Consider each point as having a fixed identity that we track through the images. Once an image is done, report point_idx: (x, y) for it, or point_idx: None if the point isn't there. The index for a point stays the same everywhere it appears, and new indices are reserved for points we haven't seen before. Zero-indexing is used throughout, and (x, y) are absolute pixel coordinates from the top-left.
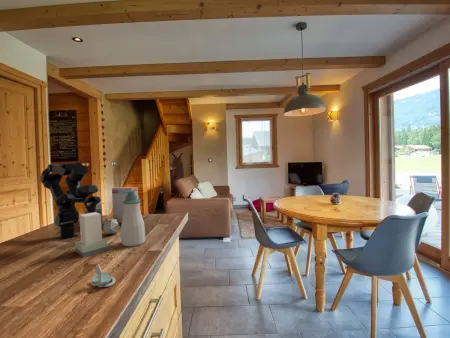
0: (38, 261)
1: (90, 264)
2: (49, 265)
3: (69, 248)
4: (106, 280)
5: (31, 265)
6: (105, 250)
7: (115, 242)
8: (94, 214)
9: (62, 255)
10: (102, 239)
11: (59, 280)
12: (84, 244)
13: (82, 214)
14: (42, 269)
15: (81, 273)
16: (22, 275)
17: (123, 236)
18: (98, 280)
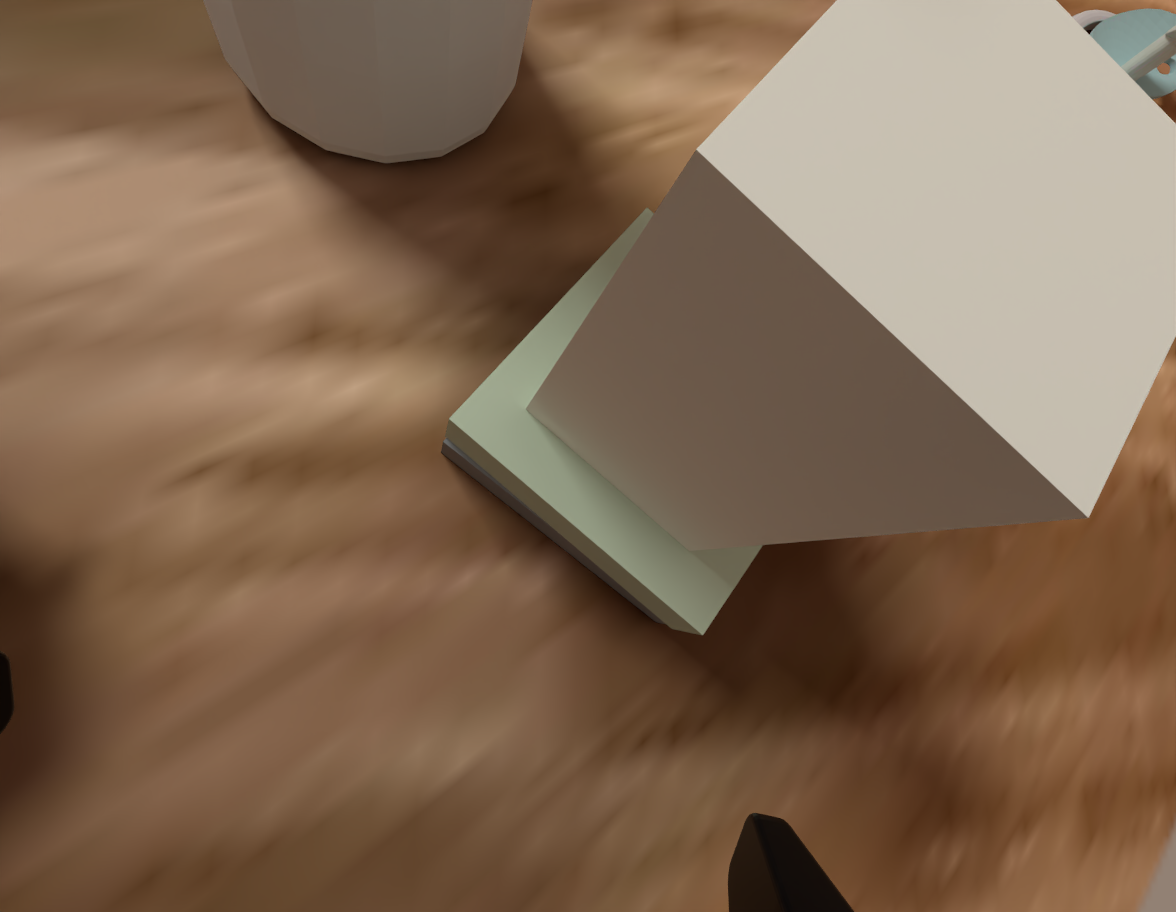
0: (916, 839)
1: None
2: (970, 627)
3: (547, 805)
4: (1115, 44)
5: (993, 817)
6: None
7: (328, 281)
8: (1007, 38)
9: (764, 698)
10: (589, 292)
11: None
12: None
13: (1039, 435)
14: (1034, 622)
15: None
16: (1129, 699)
17: (515, 29)
18: (1147, 72)
